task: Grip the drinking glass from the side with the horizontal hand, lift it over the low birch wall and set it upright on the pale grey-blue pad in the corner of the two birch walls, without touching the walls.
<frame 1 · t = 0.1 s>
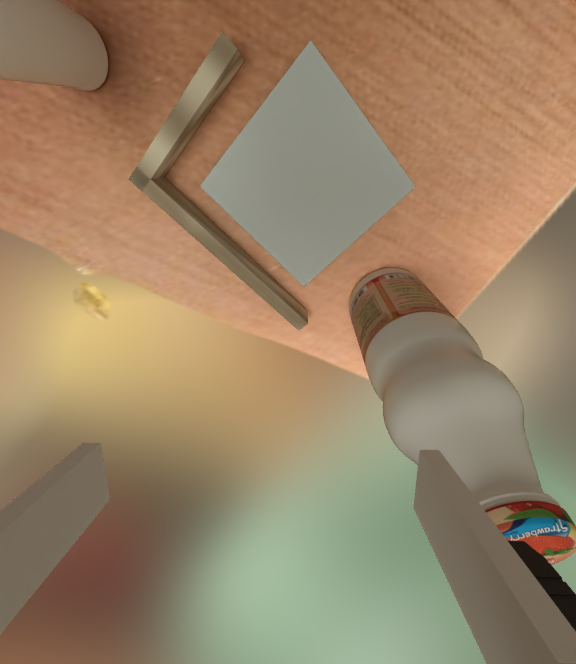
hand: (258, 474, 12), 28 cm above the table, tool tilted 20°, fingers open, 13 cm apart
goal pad: (306, 186, 32), on the table
drinking glass: (82, 55, 27), on the table
fruit juice: (384, 300, 39), on the table
birch walls: (306, 186, 32), on the table
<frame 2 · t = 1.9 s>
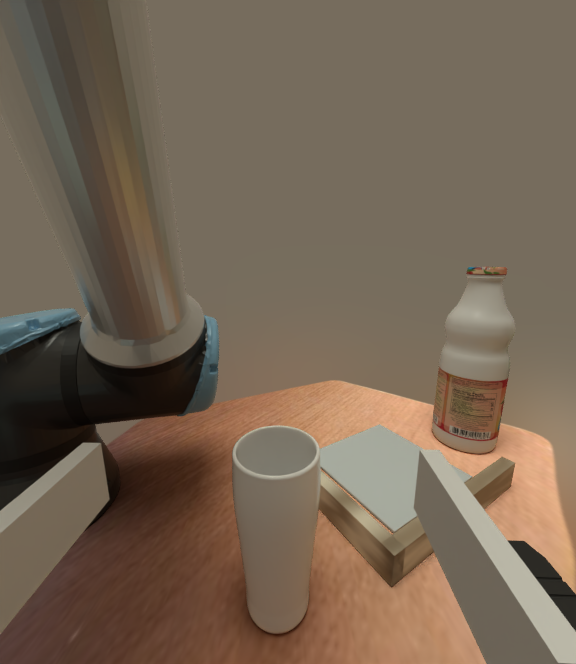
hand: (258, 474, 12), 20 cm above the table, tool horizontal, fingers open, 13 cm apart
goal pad: (385, 466, 43), on the table
drinking glass: (278, 603, 26), on the table
fruit juice: (462, 439, 50), on the table
birch walls: (385, 466, 43), on the table
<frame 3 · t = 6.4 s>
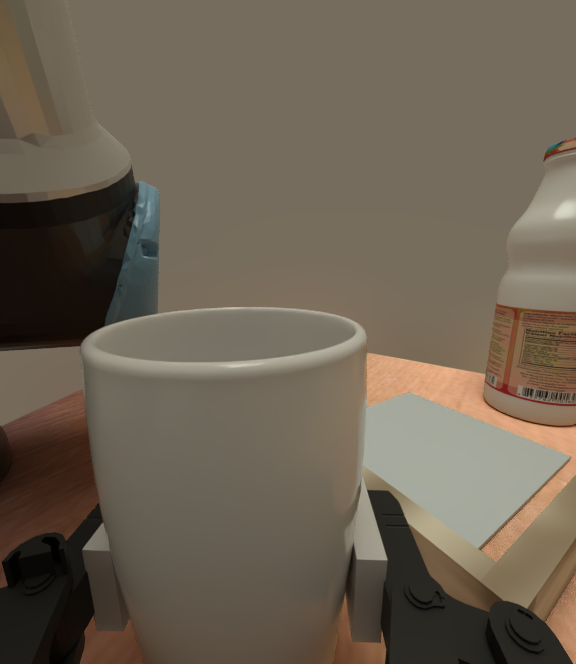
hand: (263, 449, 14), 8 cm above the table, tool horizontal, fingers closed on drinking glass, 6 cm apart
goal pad: (429, 443, 28), on the table
fruit juice: (528, 408, 36), on the table
birch walls: (429, 443, 28), on the table
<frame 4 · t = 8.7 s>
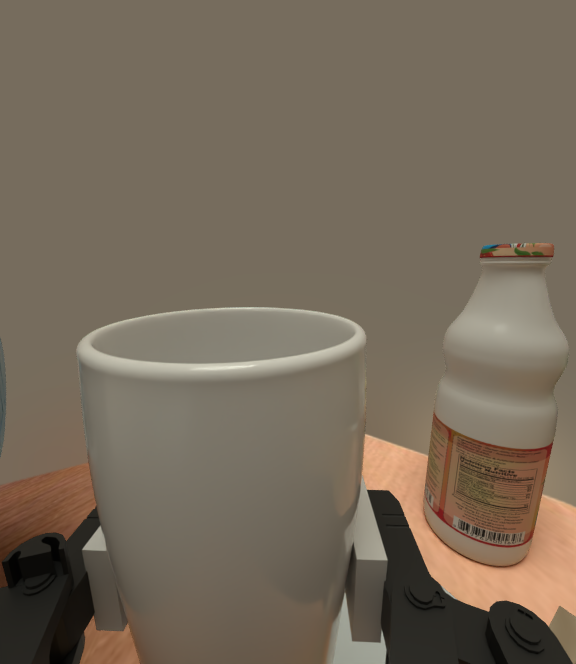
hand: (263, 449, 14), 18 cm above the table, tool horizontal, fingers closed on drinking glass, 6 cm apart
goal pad: (341, 610, 24), on the table
fruit juice: (471, 527, 31), on the table
birch walls: (341, 610, 24), on the table
when the fingers open (10 cm above the table, at t = 11.3 s): drinking glass drops 2 cm, resting on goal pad.
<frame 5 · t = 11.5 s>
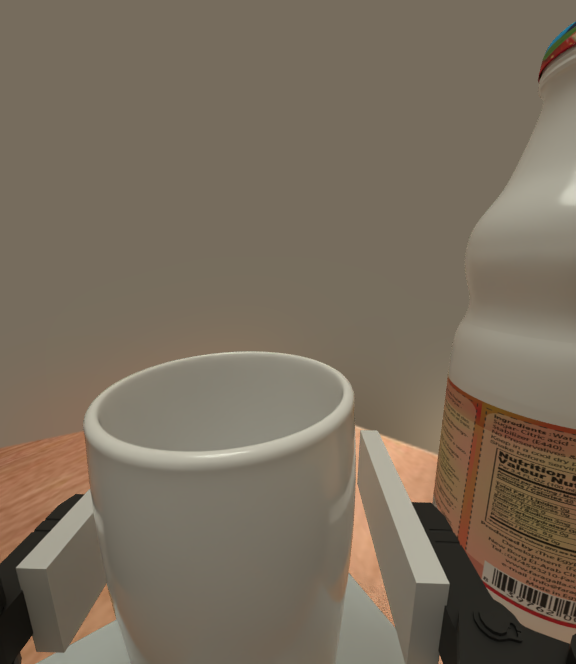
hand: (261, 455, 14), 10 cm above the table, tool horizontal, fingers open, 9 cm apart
fruit juice: (510, 573, 19), on the table
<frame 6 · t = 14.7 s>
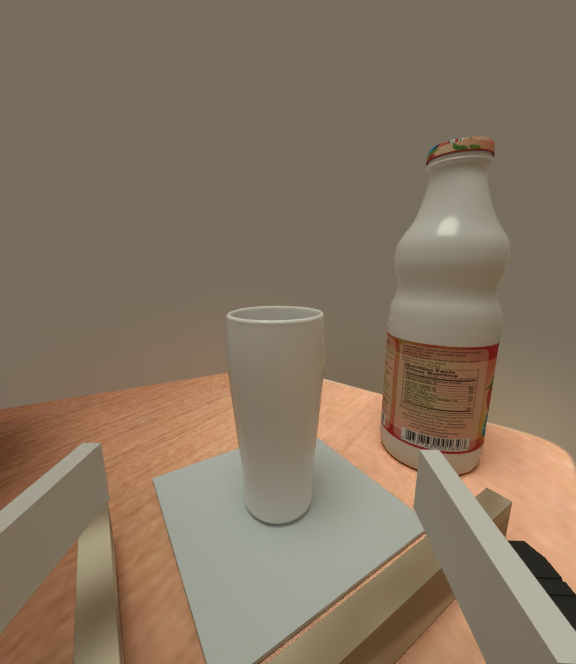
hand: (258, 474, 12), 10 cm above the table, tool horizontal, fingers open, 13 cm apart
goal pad: (278, 502, 24), on the table
drinking glass: (278, 502, 24), resting on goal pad
fruit juice: (426, 449, 31), on the table
birch walls: (278, 502, 24), on the table
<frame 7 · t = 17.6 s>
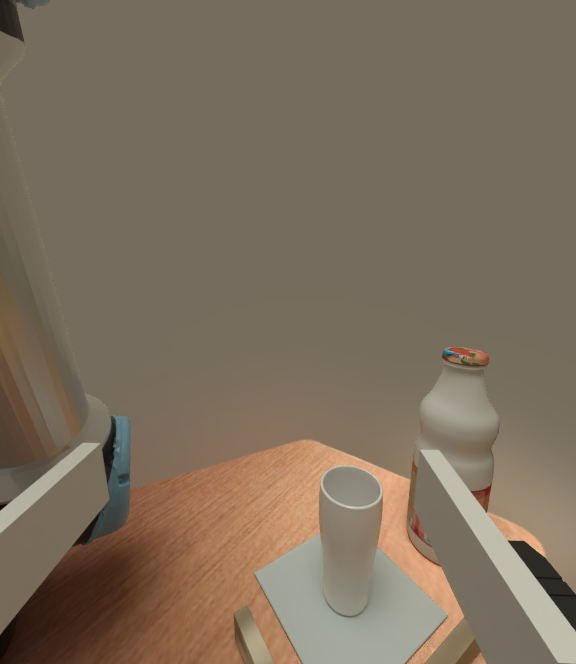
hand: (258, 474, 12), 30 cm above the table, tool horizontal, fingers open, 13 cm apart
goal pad: (344, 594, 36), on the table
drinking glass: (345, 594, 36), resting on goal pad
fruit juice: (440, 540, 43), on the table
birch walls: (344, 594, 36), on the table
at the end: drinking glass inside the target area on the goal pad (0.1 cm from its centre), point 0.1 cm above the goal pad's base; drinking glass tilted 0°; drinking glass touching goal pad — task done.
